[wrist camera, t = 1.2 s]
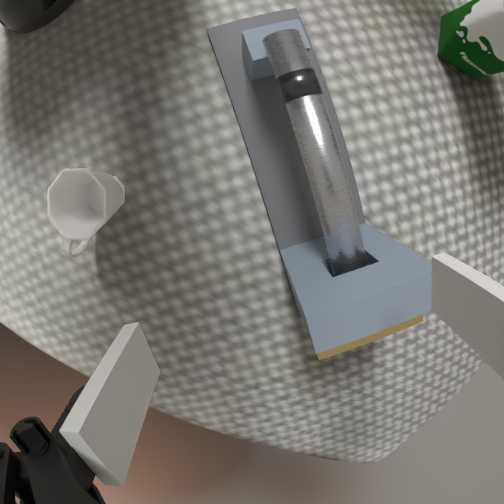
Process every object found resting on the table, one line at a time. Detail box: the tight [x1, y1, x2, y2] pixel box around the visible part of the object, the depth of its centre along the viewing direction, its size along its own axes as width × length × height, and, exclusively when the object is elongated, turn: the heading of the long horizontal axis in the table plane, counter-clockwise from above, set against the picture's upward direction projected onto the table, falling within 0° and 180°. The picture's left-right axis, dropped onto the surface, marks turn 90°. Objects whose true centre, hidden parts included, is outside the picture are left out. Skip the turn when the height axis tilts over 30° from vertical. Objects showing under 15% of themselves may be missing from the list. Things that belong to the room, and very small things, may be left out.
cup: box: [47, 168, 125, 257], centre depth 29 cm, size 7×10×8 cm
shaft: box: [262, 29, 368, 277], centre depth 24 cm, size 26×3×3 cm, turn 18°
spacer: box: [317, 314, 423, 360], centre depth 28 cm, size 2×10×10 cm, turn 108°
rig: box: [207, 8, 432, 354], centre depth 25 cm, size 34×10×16 cm, turn 18°
